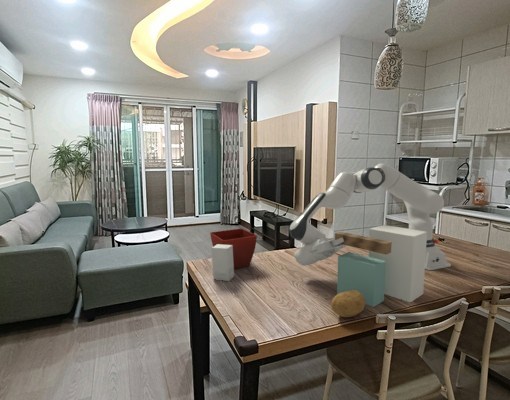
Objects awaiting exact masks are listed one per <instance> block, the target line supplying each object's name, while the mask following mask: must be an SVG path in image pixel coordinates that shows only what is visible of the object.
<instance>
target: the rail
mask: <svg viewBox="0 0 510 400" xmlns="http://www.w3.org/2000/svg"><path fill="white" fill-rule="evenodd" d="M343 237H344V238H345V242H343V243H340V244H343V245H347V246H348V247H350V248H351V247H353V248H356V249H360V250H365V251H368V252H369V251H373V252H377V253H381V254H385V255H386V254H389V253H391V245H392V242H389V241H384V240H379V239H374V238H369V236H365V235H364V236H363V235H360V234H359V235H358V234H353V233H349V232H344V231H339V232H335V233H334V238H335V240H337V239H340V238H343ZM347 246H346V247H347Z"/></svg>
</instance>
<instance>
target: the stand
mask: <svg viewBox="0 0 510 400" xmlns="http://www.w3.org/2000/svg"><path fill="white" fill-rule="evenodd" d="M368 237H369V238H374V239H379V240H384V241H389V242H392V245H391V253H389V254H386V255H385V254H381V253H377V252H373V251H368V257H371V258H375V259H379V260H383V261H386V267H385V289H384V296H385V295H386V296H389V297H392V298H394V299H397V300H401V299H402V300H401V301H404V302H406V303H407V302H408V303H410V302H411V303H413V301H415V300H416V299H418V298H419V297H421V296H422V295H424V290H425V289H424V287H425V286H424V285H425V273H426V272H425V271H426V269H425V258H426V242H427V232H426V231H420V230H413V229H409V228H407V227H399V226H394V225H389V224H388V225H387V224H382V225H378V226H374V227H371V228H369V236H368Z"/></svg>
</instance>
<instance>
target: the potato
mask: <svg viewBox="0 0 510 400" xmlns="http://www.w3.org/2000/svg"><path fill="white" fill-rule="evenodd" d="M365 306H366V304H365V299H364V297H363V295H362V294H361V293H360V292H359V291H356V290H351V291H346V292H341V293H339V294H337V293H336V295H335V296H334V297H332V299H331V303H330V307H331V310H333V312H334V314H337V315H338V316H339V317H340V318H351V317H355V316H357V315H359V314H361V312H362V311H364V308H365Z"/></svg>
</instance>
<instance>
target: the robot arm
mask: <svg viewBox="0 0 510 400" xmlns="http://www.w3.org/2000/svg"><path fill="white" fill-rule="evenodd" d="M380 187H381V188H382V189H384V190H385V191H386V192H389V193H390V194H392V196H394V197H396V198H397V199H400V200H401V201H403V203H404V205H405V208H406V212H407V213H406V214H407V217H408V229H413V230H420V231H426V232H427V242H426V258H425V270H429V271H434V270H439V269H444V268H450V267H452V264H451V263H450V262H448V261H447V257H446V254H445V252H444V251H442V250H441V249H440V248H439V247H437V245H438V244H439V243H440V242H441V241H440V239H436V238H435V239H434V238H433V237H434V236H433V235H434V234H433V232H434V223H433V221H432V219H431V217H430V216H431V215H430V214H437V213H439V212H441V210H443V208H444V205H445V200H444V198H443V197H442V196H441V195H440V194H438V193H437V192H435V191H433V190H432V189H430V188H428V187H426V186H424V185H423V184H421V183H418V182H417V181H415V180H413V179H411V178H409V176H406V175H405V174H403V173H402V172H400V171H399V170H397V169H396V168H395V167H392V166H391V165H389V164H386V163H381V162H380V163H377V164H376V165H375V166H373V167H371V166H370V167H366V168H363V169H360V170H359V171H357V172H354V173H352V172H348V171H341V172H339V173H338V174H337V176H336V177H335V179H334V180H332V182H331V184H330V185H329V187H328V189H326V191H324V192H319V193H318V194H317V195H315V197H314V198H312V200H311V201H310V202H309V203H308V205H307V206H306V207H305V208H304V210H302V212H301V213H300V214H299V216H297V217H296V218H295V219H294V220H293V221H292V222H291V223H290V225H289V228H288V231H289V234H290V237H291V239H294V240H296V241H298V242H299V243H301V244H303V245H302V246H301V247H300V248H299V249H297V250H295V252H294V259H295V261H296V262H297V263H298V265H300V266H302V267H303V266H304V267H305V266H310V265H311V266H312V265H313V264H315V263H316V264H317V263H318V262H319V261H323V260H327V259H329V258H331V257H332V256H333V255H334V254H336V253H339V252H340V251H341V250H343V248H346V247H347V245H343V244H340V243H343V242H345V238H344V237H343V238H340V239H337V240H335V237H331V238H330V237H329V238H327V237H326V234H325V233H323V232H322V231H321V230H320V229H318V228H317V227H315V226H314V225H313V224H311V223H310V220H311V219H312V218H313V217H314V215H315V214H316V213H317V212H318V211H319V209H321V208H326V209H329V210H330V209H331V210H340V209H342V208H344V207H346V205H347V204H348V202H349V201H350V198H351V196H352V194H353V193H356V194H362V193H367V192H370V191H372V190H376V189H378V188H380ZM436 244H437V245H436Z"/></svg>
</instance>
